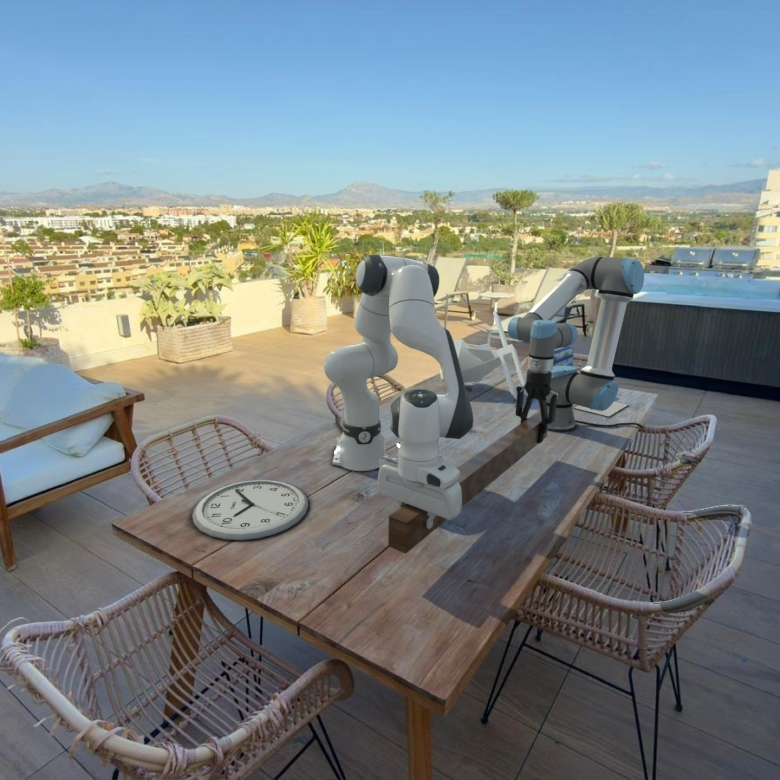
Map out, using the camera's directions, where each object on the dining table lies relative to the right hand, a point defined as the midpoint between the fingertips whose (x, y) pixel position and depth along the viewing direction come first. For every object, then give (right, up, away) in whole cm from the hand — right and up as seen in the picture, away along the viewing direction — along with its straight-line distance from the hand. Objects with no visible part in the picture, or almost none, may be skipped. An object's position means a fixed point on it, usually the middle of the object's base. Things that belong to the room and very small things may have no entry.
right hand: (532, 439), depth 169 cm
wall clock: (-83, -16, -29) cm, 90 cm away
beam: (-20, -8, -26) cm, 34 cm away
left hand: (-40, -13, -54) cm, 68 cm away
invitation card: (+45, +9, +57) cm, 73 cm away
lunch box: (+30, +16, +81) cm, 88 cm away
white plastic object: (-5, +15, +74) cm, 75 cm away
